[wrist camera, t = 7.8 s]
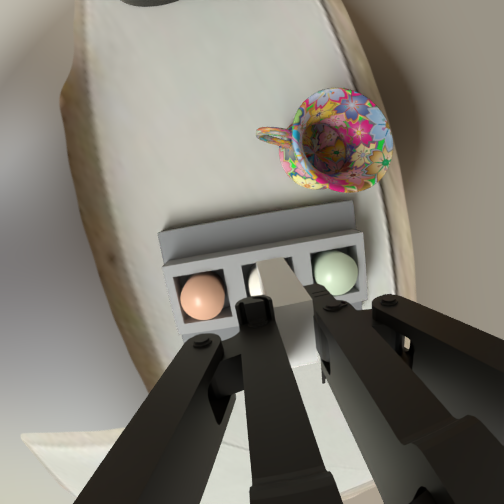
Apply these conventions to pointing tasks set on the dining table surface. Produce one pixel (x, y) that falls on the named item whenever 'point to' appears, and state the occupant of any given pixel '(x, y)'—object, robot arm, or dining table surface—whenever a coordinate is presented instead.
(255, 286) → the white egg
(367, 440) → the robot arm
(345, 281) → the pale green rounded piece
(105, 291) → the dining table surface
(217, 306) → the brown egg
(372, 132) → the mug
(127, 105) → the dining table surface
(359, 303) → the panel
